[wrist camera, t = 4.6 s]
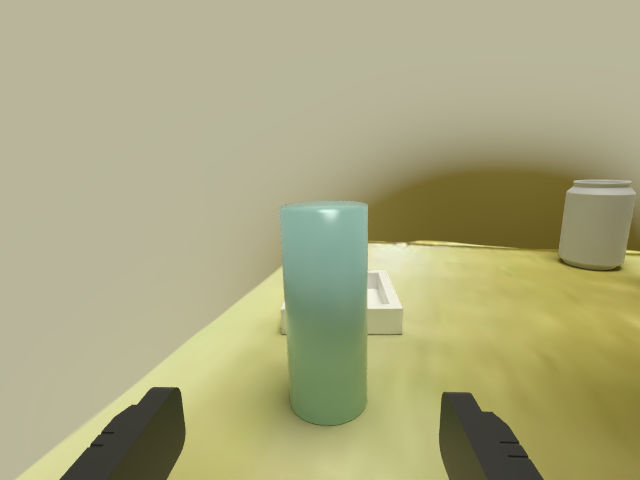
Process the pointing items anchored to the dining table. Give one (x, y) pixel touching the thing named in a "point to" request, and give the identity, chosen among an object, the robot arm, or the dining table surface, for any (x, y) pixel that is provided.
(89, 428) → the dining table surface
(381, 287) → the tray
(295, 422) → the dining table surface
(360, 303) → the pale green cylinder
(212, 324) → the dining table surface
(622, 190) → the can
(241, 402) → the dining table surface
